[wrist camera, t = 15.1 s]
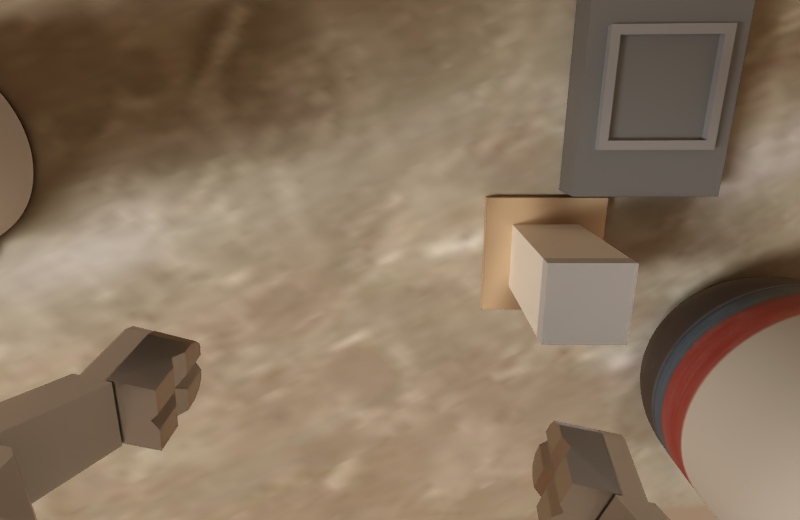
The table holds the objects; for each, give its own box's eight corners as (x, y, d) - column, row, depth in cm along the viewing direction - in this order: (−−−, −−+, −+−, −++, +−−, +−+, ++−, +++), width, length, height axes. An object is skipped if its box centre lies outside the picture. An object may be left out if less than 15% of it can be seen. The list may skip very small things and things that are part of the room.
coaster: (480, 306, 39) (481, 309, 38) (485, 196, 36) (487, 198, 36) (591, 306, 39) (594, 309, 38) (605, 196, 36) (608, 197, 36)
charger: (508, 286, 38) (540, 344, 28) (512, 224, 36) (547, 263, 27) (572, 286, 38) (627, 344, 28) (579, 224, 36) (638, 263, 27)
